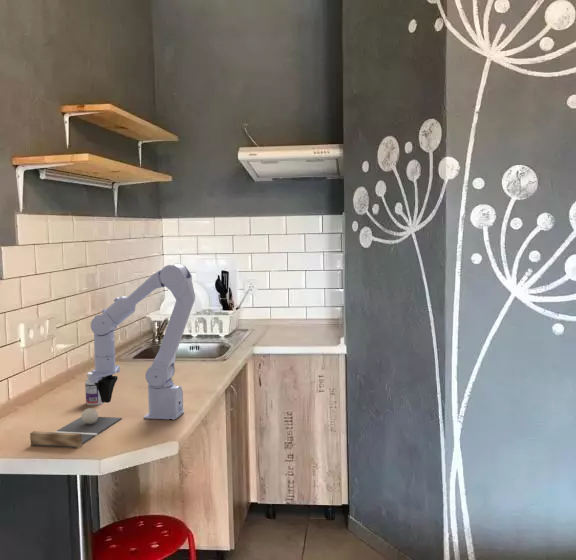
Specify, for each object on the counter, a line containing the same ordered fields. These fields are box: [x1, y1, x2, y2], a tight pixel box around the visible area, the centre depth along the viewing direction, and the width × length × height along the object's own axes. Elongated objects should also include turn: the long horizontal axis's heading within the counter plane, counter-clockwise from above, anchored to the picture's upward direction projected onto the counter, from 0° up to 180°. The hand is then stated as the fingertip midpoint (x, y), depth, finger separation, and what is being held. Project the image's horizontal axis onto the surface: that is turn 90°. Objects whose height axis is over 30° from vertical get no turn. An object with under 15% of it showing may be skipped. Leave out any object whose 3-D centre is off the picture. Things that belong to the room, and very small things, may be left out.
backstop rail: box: [29, 430, 83, 449], centre depth 160 cm, size 13×2×3 cm, turn 79°
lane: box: [33, 416, 123, 449], centre depth 172 cm, size 12×25×1 cm, turn 169°
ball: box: [80, 407, 99, 424], centre depth 177 cm, size 4×4×4 cm
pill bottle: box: [84, 371, 105, 406], centre depth 200 cm, size 5×5×10 cm
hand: (106, 401), depth 187 cm, fingers closed
